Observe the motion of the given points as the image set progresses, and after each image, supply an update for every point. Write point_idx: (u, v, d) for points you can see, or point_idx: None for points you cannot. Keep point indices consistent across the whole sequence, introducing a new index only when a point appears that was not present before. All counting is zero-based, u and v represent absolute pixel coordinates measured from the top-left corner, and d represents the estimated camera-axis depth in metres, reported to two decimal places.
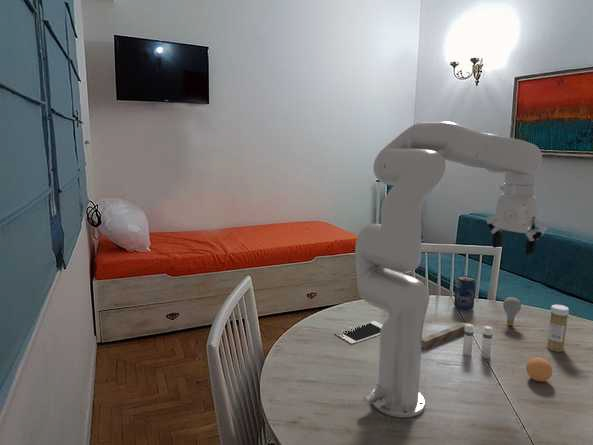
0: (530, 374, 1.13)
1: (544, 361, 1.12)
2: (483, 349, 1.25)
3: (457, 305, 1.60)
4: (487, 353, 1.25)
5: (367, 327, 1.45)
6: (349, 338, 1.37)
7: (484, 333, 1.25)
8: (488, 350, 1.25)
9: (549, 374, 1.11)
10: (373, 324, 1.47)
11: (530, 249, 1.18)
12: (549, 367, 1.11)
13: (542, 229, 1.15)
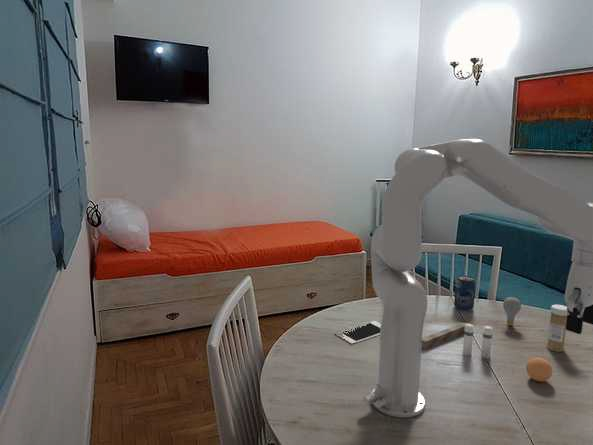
0: (530, 374, 1.13)
1: (544, 361, 1.12)
2: (483, 349, 1.25)
3: (457, 305, 1.60)
4: (487, 353, 1.25)
5: (367, 327, 1.45)
6: (349, 338, 1.37)
7: (484, 333, 1.25)
8: (488, 350, 1.25)
9: (549, 374, 1.11)
10: (373, 324, 1.47)
11: (569, 324, 1.02)
12: (549, 367, 1.11)
13: None
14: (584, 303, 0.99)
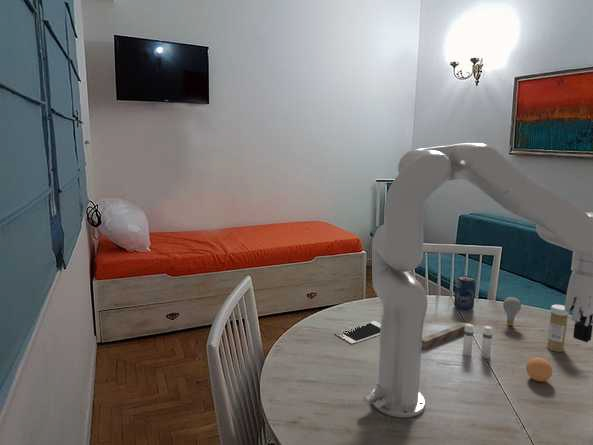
0: (530, 374, 1.13)
1: (544, 361, 1.12)
2: (483, 349, 1.25)
3: (457, 305, 1.60)
4: (487, 353, 1.25)
5: (367, 327, 1.45)
6: (349, 338, 1.37)
7: (484, 333, 1.25)
8: (488, 350, 1.25)
9: (549, 374, 1.11)
10: (373, 324, 1.47)
11: None
12: (549, 367, 1.11)
13: None
14: (584, 313, 0.99)
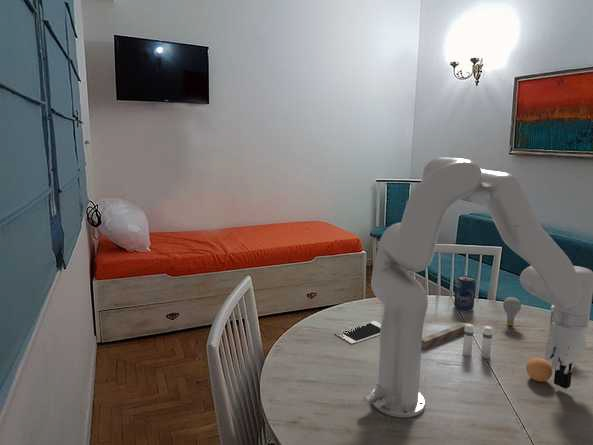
0: (530, 374, 1.13)
1: (544, 361, 1.12)
2: (483, 349, 1.25)
3: (457, 305, 1.60)
4: (487, 353, 1.25)
5: (367, 327, 1.45)
6: (349, 338, 1.37)
7: (484, 333, 1.25)
8: (488, 350, 1.25)
9: (549, 374, 1.11)
10: (373, 324, 1.47)
11: None
12: (549, 367, 1.11)
13: None
14: (563, 362, 1.04)
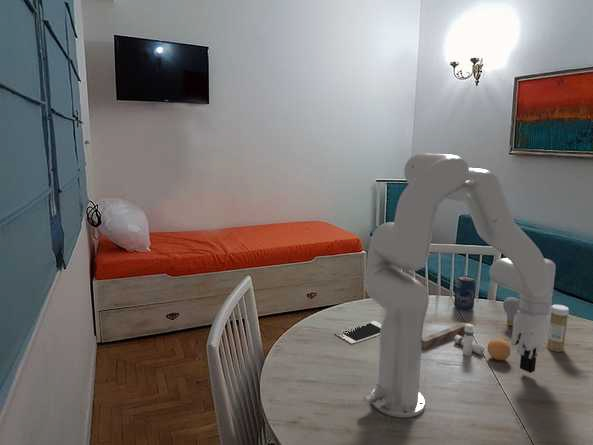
0: (493, 346, 1.23)
1: None
2: None
3: (457, 305, 1.60)
4: (475, 345, 1.28)
5: (367, 327, 1.45)
6: (349, 338, 1.37)
7: (457, 341, 1.33)
8: (473, 343, 1.29)
9: None
10: (373, 324, 1.47)
11: None
12: None
13: None
14: (527, 347, 1.11)
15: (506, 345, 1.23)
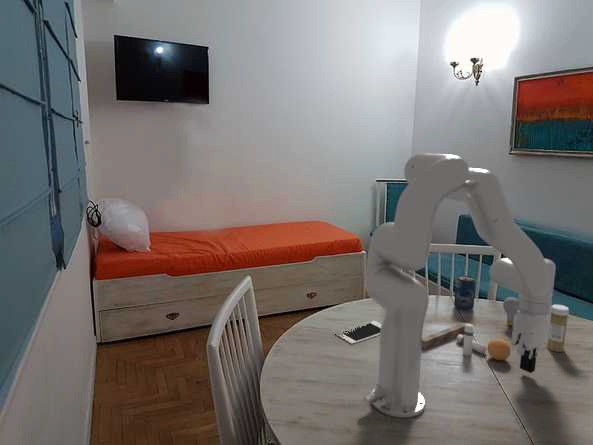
0: (493, 346, 1.23)
1: None
2: (475, 343, 1.30)
3: (457, 305, 1.60)
4: None
5: (367, 327, 1.45)
6: (349, 338, 1.37)
7: (461, 337, 1.34)
8: None
9: None
10: (373, 324, 1.47)
11: None
12: None
13: None
14: (527, 347, 1.11)
15: (506, 345, 1.23)
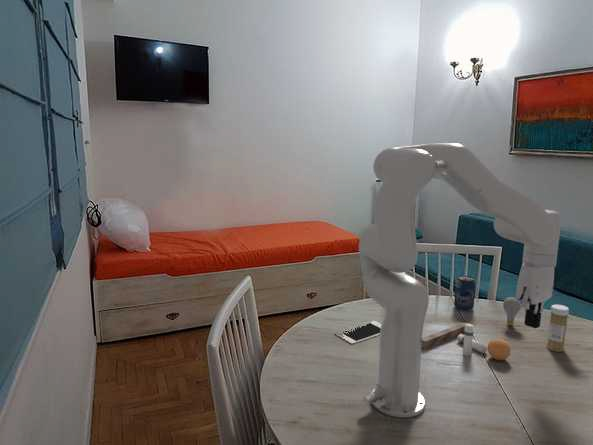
0: (493, 346, 1.23)
1: None
2: (476, 342, 1.30)
3: (457, 305, 1.60)
4: None
5: (367, 327, 1.45)
6: (349, 338, 1.37)
7: (463, 336, 1.34)
8: None
9: None
10: (373, 324, 1.47)
11: None
12: None
13: None
14: (532, 301, 1.08)
15: (506, 345, 1.23)
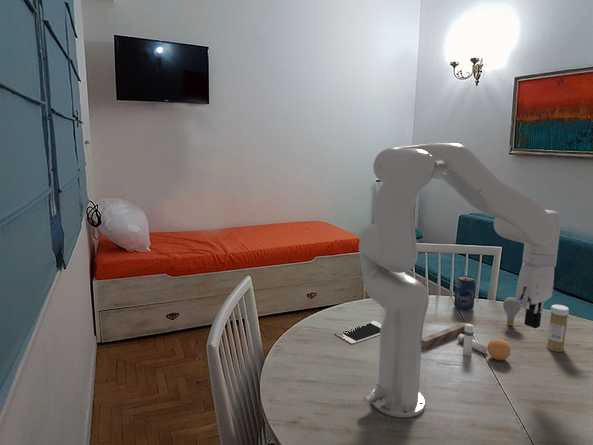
0: (493, 346, 1.23)
1: None
2: (477, 342, 1.30)
3: (457, 305, 1.60)
4: None
5: (367, 327, 1.45)
6: (349, 338, 1.37)
7: (463, 336, 1.34)
8: None
9: None
10: (373, 324, 1.47)
11: None
12: None
13: None
14: (532, 301, 1.08)
15: (506, 345, 1.23)
